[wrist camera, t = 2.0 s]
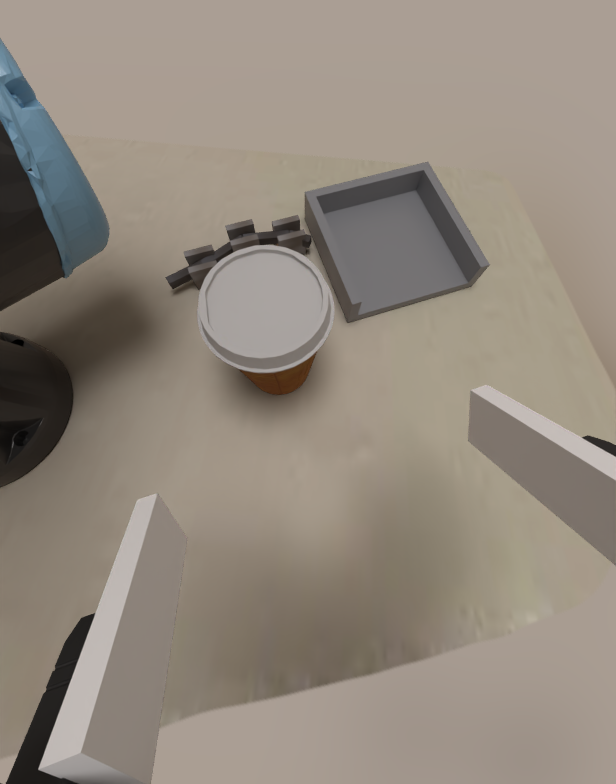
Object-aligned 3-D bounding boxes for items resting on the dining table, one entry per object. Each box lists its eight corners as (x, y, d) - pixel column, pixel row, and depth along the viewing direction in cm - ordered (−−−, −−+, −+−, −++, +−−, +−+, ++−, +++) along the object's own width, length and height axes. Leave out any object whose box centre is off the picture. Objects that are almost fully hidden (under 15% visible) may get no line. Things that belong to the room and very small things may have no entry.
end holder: (347, 322, 33) (352, 304, 29) (304, 218, 37) (304, 192, 33) (471, 286, 34) (489, 264, 31) (417, 189, 38) (428, 161, 35)
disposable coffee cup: (253, 314, 33) (225, 224, 22) (336, 340, 32) (353, 261, 21) (218, 392, 30) (164, 338, 19) (307, 423, 30) (308, 386, 18)
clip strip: (175, 296, 34) (164, 279, 31) (167, 261, 35) (155, 243, 32) (314, 258, 35) (315, 240, 32) (301, 226, 36) (301, 206, 34)
